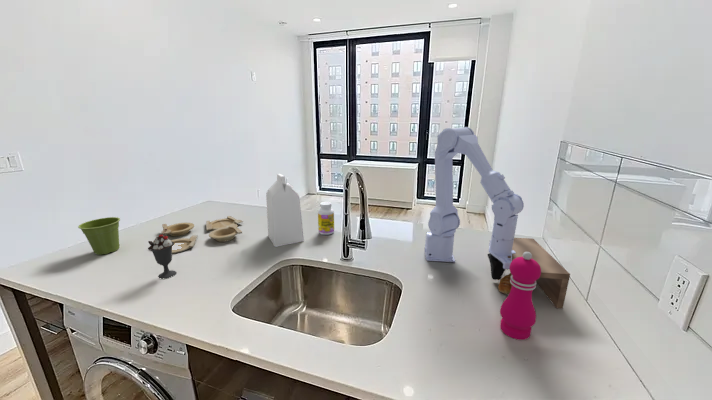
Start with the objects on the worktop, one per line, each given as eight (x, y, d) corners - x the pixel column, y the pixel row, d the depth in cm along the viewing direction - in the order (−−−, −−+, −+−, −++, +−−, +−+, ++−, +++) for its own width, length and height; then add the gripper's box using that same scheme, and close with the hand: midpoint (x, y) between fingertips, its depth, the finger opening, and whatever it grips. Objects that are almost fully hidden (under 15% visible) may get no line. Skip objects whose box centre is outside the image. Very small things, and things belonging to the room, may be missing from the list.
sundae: (184, 271, 98) (176, 227, 94) (165, 282, 92) (156, 236, 88) (169, 268, 100) (160, 225, 96) (149, 278, 94) (139, 233, 90)
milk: (268, 235, 126) (262, 173, 118) (295, 230, 131) (291, 170, 123) (274, 246, 115) (268, 179, 108) (304, 240, 120) (300, 176, 113)
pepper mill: (491, 321, 74) (502, 245, 68) (520, 319, 75) (533, 244, 69) (508, 342, 67) (522, 260, 61) (539, 340, 68) (555, 259, 62)
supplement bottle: (319, 236, 125) (318, 206, 121) (317, 230, 131) (316, 201, 127) (335, 234, 126) (334, 204, 123) (333, 228, 133) (332, 200, 129)
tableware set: (238, 218, 148) (237, 210, 147) (253, 239, 124) (252, 229, 122) (153, 233, 130) (151, 224, 129) (150, 260, 106) (148, 250, 105)
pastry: (515, 301, 82) (517, 288, 81) (491, 290, 87) (492, 278, 86) (530, 288, 88) (532, 276, 87) (506, 279, 93) (508, 267, 92)
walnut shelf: (513, 305, 80) (518, 271, 77) (489, 264, 101) (493, 236, 98) (562, 308, 78) (570, 274, 75) (528, 266, 99) (533, 238, 96)
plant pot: (127, 241, 121) (120, 214, 118) (126, 252, 112) (119, 223, 108) (88, 249, 115) (80, 221, 112) (84, 261, 105) (75, 231, 102)
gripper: (527, 248, 79) (519, 294, 83) (509, 227, 93) (502, 267, 97) (499, 247, 80) (491, 291, 84) (484, 226, 94) (479, 265, 98)
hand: (495, 278), depth 91 cm, fingers closed, pressing on walnut shelf
